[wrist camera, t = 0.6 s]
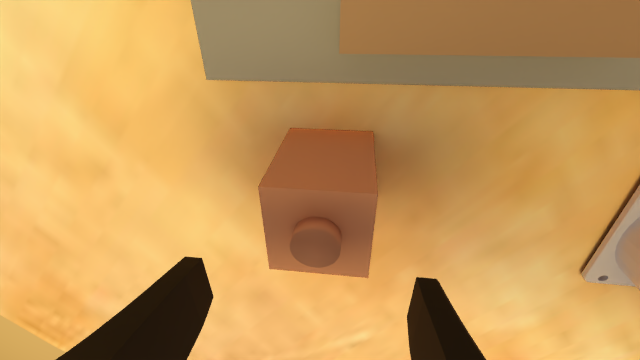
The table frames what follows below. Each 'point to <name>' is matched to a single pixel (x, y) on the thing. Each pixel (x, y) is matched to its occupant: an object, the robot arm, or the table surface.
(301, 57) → the build base
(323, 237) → the snap block
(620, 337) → the table surface
